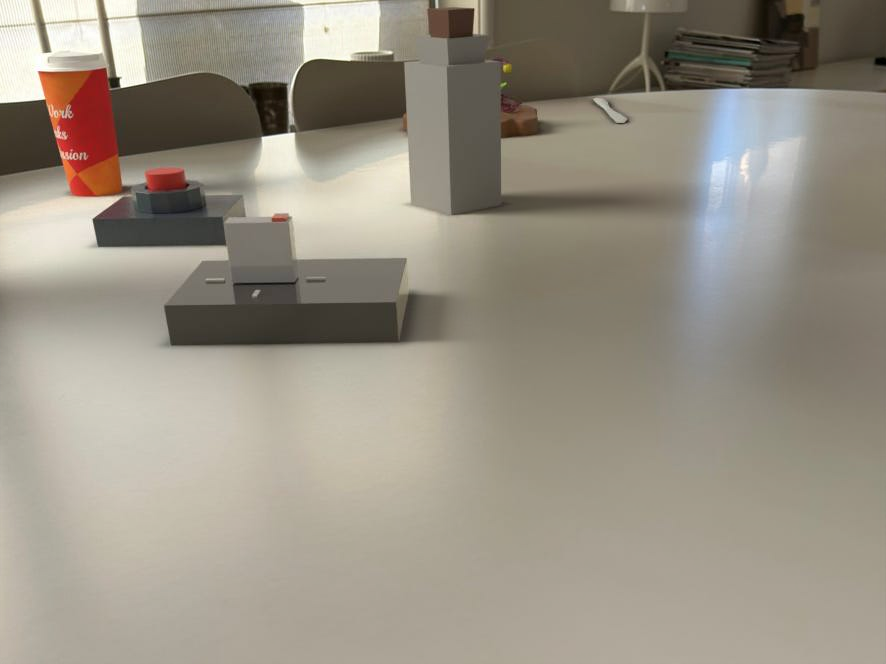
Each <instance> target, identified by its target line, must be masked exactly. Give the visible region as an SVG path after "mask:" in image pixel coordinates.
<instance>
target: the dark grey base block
mask: <svg viewBox="0 0 886 664" xmlns="http://www.w3.org/2000/svg"><path fill="white" fill-rule="evenodd" d="M297 267H298V277H297V279H296V281H295V282H293V283H232V279H231V272H230V265H229V260H202V261H201V262H200V263H199V264H198V266H197V267H196V268H195V269H194V270H192V271H193V272H191V274H190V275H189V276H188V277H187V278H186V280H184V282H183V283H182V284H181V285H180V286H179V287H178V288H177V290H176V291H175V292H174V293H173V294H172V295H171V297H170V298H169V299H168V300H167V302H166V303H164V305H163V309H164V313H165V314H164V315H165V321H166V326H167V332H168V337H169V344H170V346H227V345H229V346H231V345H233V346H235V345H239V346H241V345H302V344H305V345H307V344H309V345H310V344H371V343H373V344H376V343H379V344H380V343H381V344H383V343H399V342H400V338H401V334H402V333H401V332H402V328H403V322H404V318H405V314H406V309H407V304H408V300H409V294H410V291H409V274H408V273H409V272H408V258H407V257H377V258H376V257H375V258H373V257H372V258H371V257H369V258H366V257H365V258H311V259H309V258H305V259H303V258H302V259H301V258H300V259H297Z"/></svg>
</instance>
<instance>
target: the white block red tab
mask: <svg viewBox="0 0 886 664" xmlns="http://www.w3.org/2000/svg"><path fill="white" fill-rule="evenodd" d="M224 230H225V237H226V244H227V245H226V250H227V259H228V261H229V265H230V272H231V279H232V283H293V282H295V281H296V279H297V277H298V267H297V260H298V259H297V250H296V240H295V229H294V220H293V217H292V216H290V214H289V212H287V213H286V212H285V213H283V212H281V213H280V212H279V213H274V214H273V216H246V217H229V218H228V219H227V220H226V221H225V222H224Z"/></svg>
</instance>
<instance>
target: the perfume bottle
mask: <svg viewBox="0 0 886 664" xmlns="http://www.w3.org/2000/svg"><path fill="white" fill-rule="evenodd" d="M426 11H427V20H428V28H429V34H421V35H420V34H419V35H412V39H413V42H414V46H415V50H416V53H417V56H418V60H413V61H404V62H403V63H404V64H403V65H404V66H403V68H404V88H405V89H404V90H405V105H406V107H405V108H406V113H407V130H408V132H407V148H408V149H407V150H408V171H409V190H410V192H409V193H410V205H411V206H414V207H419V208H422V209H426V210H430V211H435V212H438V213H442V214H446V215H449V216H453V215H458V214H463V213H467V212H473V211H478V210H483V209H488V208H494V207H498V206H502V138H501V94H502V89H501V84H502V75H501V73H502V70H501V69H502V67H501V66H502V65H501V64H502V62H501V61H492V60H490V59H486V56H487V52H488V48H489V45H490V40H491V35H492V34H483V33H482V34H481V33H474V26H475V25H474V23H475V7H457V6H452V7H435V8H433V7H432V8H426Z"/></svg>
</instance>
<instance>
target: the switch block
mask: <svg viewBox="0 0 886 664" xmlns="http://www.w3.org/2000/svg"><path fill="white" fill-rule="evenodd" d="M186 184H187V187H186V188H182V189H177V190H167V191H154V190H148V187H147V181H146V182H141V183H138V184H135V185H134V186H132V187H131V188H130V192H131V196H127V195H126V196H121V197H120V198H119V199H118V200H116V201H115V202H113V203H112V204H111V205H109V206H108V207H107V208H105V209H104V210H103V211H101V212H100V213H99V214H97V215H95V216H94V217H93V218H92V219H91V220H92V225H93V229H94V236H95V240H96V244H97V247H98V248H113V247H114V248H115V247H119V248H120V247H177V246H179V247H182V246H189V247H190V246H227V244H226V237H225V230H224V222H225V221H226V220H227V219H228V218H229V217H247V216H246V208H245V200H244V195H243V194H209V195H208V194H206V192H205V185H204V183H202V182H200V181H198V180H193V179H192V180H191V179H186Z"/></svg>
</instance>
